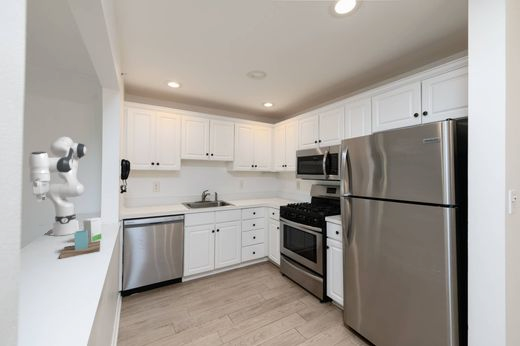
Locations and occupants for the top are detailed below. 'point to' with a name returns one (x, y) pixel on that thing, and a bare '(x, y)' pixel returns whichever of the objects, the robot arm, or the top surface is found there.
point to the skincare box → (93, 229)
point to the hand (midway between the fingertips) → (41, 200)
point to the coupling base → (71, 251)
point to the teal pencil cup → (81, 239)
